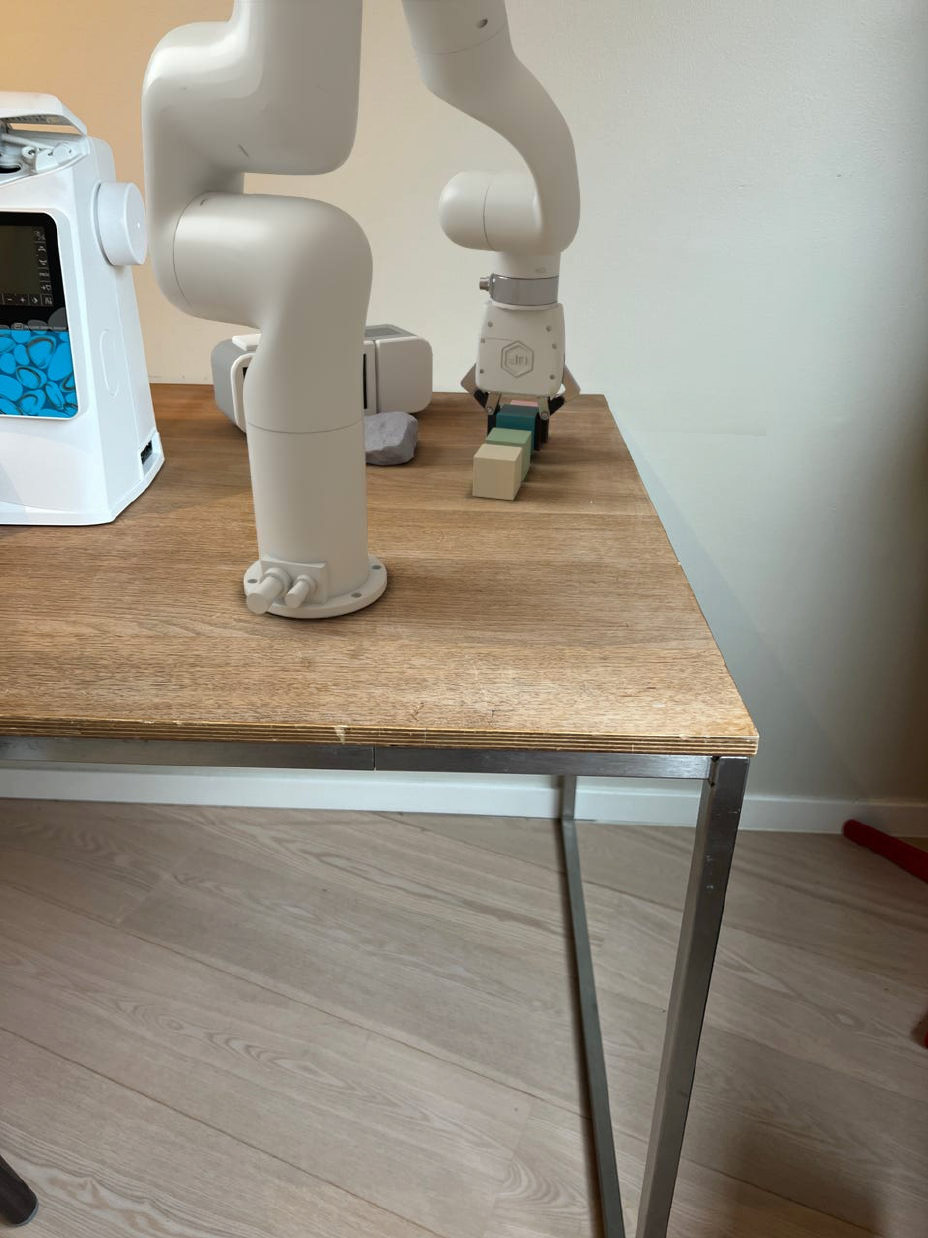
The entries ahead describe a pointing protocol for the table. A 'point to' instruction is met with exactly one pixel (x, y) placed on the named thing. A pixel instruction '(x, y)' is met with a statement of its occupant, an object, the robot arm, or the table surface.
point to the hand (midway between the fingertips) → (517, 444)
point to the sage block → (513, 443)
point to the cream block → (497, 471)
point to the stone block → (390, 438)
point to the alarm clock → (389, 372)
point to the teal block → (518, 419)
